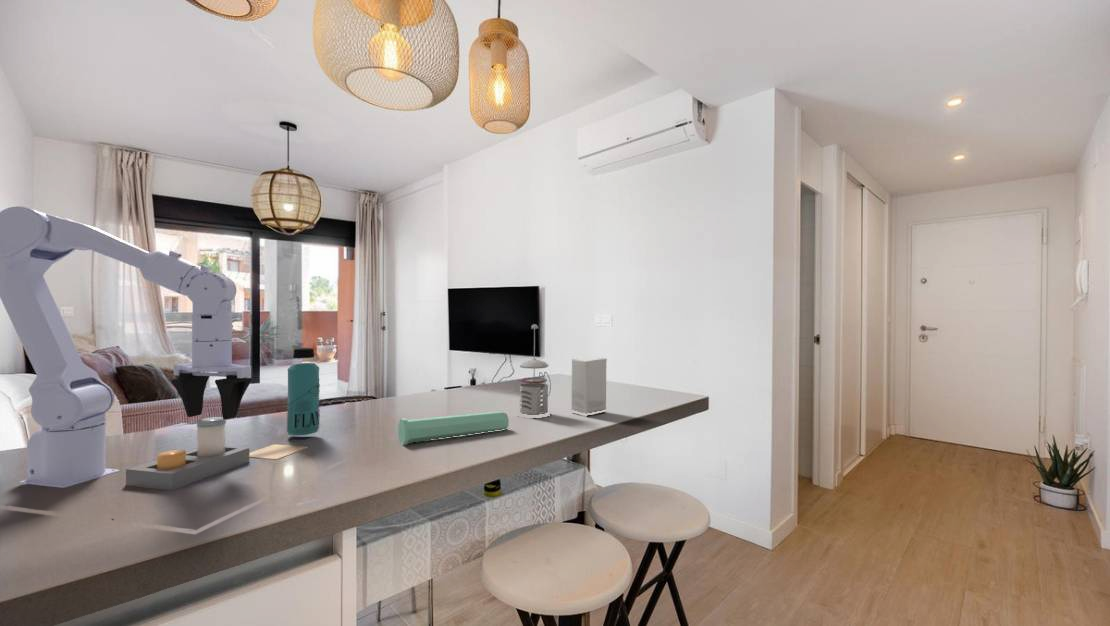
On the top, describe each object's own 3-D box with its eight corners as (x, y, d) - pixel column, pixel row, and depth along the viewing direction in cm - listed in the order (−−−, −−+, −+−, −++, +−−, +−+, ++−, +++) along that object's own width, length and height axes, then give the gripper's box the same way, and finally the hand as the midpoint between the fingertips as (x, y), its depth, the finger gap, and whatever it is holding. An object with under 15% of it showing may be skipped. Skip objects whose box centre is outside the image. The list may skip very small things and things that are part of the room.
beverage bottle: (289, 444, 98) (290, 349, 98) (283, 437, 103) (284, 347, 103) (323, 439, 102) (323, 348, 102) (315, 433, 107) (316, 346, 107)
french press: (538, 409, 135) (539, 323, 135) (562, 417, 126) (563, 324, 126) (509, 413, 130) (510, 323, 129) (532, 421, 120) (533, 325, 120)
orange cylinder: (150, 477, 74) (151, 455, 74) (173, 470, 78) (173, 449, 78) (169, 479, 74) (169, 457, 74) (191, 471, 77) (191, 450, 77)
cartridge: (190, 468, 81) (190, 421, 81) (212, 461, 85) (212, 416, 85) (210, 470, 80) (210, 423, 80) (231, 462, 84) (231, 417, 84)
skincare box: (591, 409, 136) (592, 356, 136) (607, 413, 131) (608, 358, 131) (570, 413, 131) (570, 358, 131) (586, 417, 126) (586, 360, 125)
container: (504, 403, 114) (400, 412, 101) (514, 417, 109) (406, 428, 96) (499, 424, 116) (396, 435, 102) (509, 438, 111) (403, 452, 98)
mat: (240, 459, 88) (240, 455, 88) (274, 447, 96) (274, 444, 96) (276, 462, 86) (276, 459, 86) (307, 449, 94) (307, 446, 94)
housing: (125, 488, 73) (125, 469, 73) (208, 460, 87) (208, 444, 87) (172, 493, 71) (172, 473, 71) (249, 464, 85) (249, 447, 85)
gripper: (155, 341, 80) (155, 419, 80) (226, 342, 77) (225, 424, 77) (195, 338, 87) (195, 411, 87) (261, 340, 84) (260, 415, 84)
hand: (211, 417), depth 83 cm, fingers open, 7 cm apart
